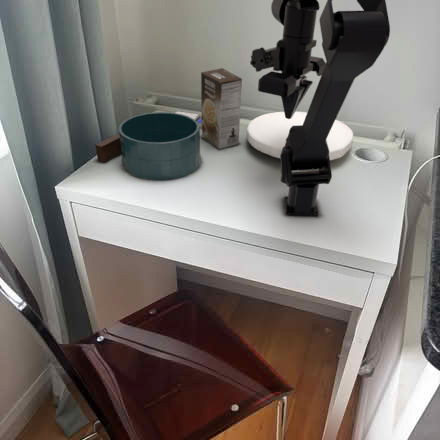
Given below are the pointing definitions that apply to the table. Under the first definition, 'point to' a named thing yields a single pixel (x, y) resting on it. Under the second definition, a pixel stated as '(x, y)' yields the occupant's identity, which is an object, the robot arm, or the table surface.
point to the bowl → (160, 145)
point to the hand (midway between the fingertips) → (288, 118)
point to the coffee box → (220, 107)
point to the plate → (279, 129)
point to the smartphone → (189, 114)
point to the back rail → (109, 148)
